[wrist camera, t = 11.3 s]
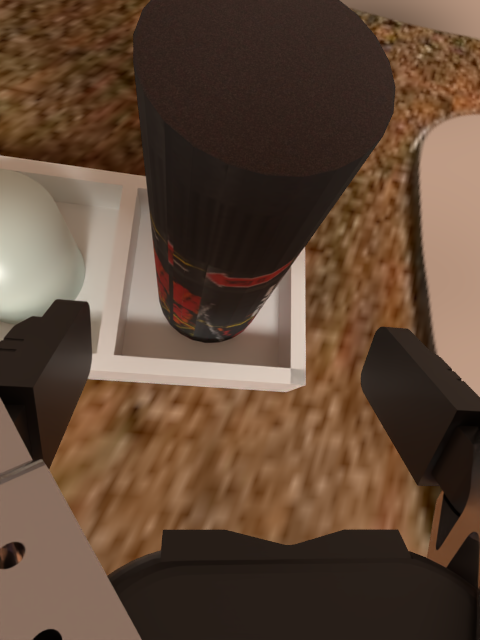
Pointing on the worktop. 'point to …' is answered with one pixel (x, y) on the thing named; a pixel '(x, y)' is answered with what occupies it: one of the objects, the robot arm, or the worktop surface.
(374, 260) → the worktop surface
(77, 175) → the caddy
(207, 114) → the deodorant
